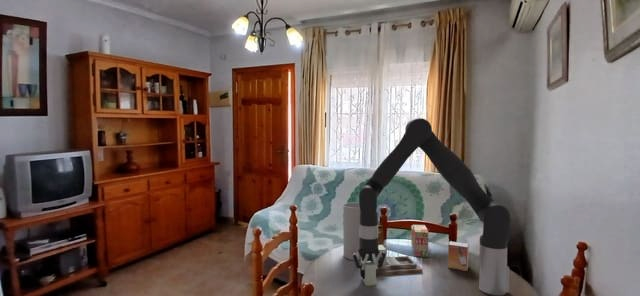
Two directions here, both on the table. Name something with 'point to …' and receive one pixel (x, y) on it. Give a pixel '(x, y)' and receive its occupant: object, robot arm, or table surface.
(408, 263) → the tray
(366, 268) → the loose block
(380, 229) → the condiment
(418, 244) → the stack of blocks
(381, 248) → the block
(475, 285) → the table surface
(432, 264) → the table surface
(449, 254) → the small box
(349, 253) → the cylinder vase
